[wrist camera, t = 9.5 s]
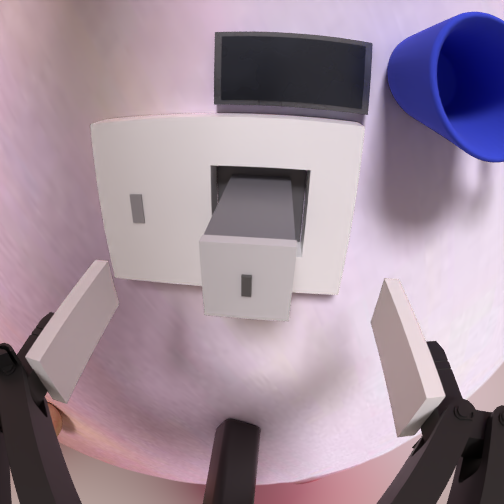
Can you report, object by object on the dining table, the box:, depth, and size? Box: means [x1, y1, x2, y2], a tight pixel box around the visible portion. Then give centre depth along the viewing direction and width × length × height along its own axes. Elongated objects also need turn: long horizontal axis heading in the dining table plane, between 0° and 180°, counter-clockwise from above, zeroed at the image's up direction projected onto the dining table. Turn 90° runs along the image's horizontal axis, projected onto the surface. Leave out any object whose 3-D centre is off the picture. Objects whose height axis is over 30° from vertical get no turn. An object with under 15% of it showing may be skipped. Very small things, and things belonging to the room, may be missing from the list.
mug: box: [387, 12, 504, 162], centre depth 15 cm, size 8×12×10 cm
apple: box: [48, 403, 62, 436], centre depth 47 cm, size 9×9×8 cm
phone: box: [214, 32, 372, 115], centre depth 20 cm, size 6×11×1 cm, turn 89°
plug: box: [199, 174, 297, 321], centre depth 21 cm, size 5×5×11 cm
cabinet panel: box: [90, 113, 365, 295], centre depth 25 cm, size 14×20×3 cm
